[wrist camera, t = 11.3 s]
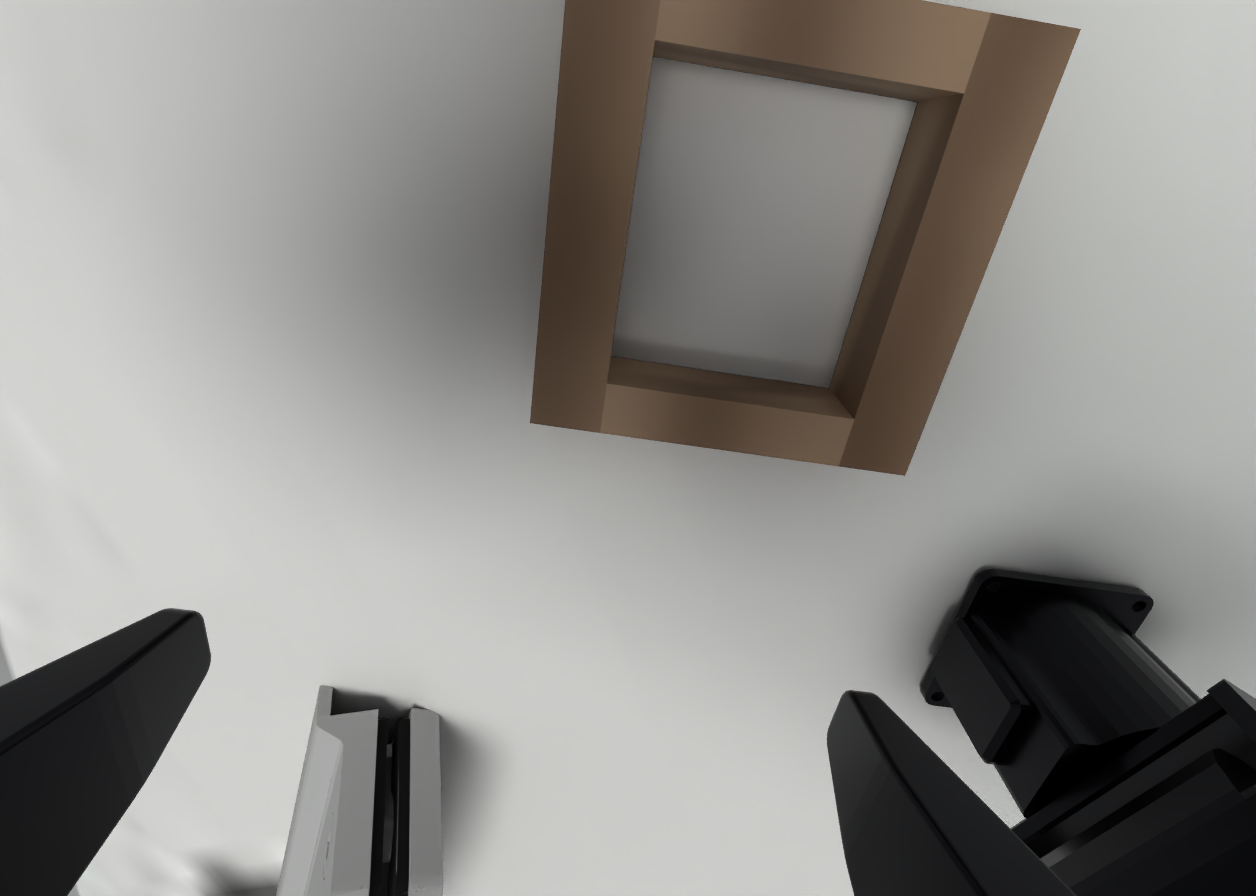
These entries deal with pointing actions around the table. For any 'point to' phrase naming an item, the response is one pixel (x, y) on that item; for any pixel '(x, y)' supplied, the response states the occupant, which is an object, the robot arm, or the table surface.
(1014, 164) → the socket bracket
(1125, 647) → the robot arm
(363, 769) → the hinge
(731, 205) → the table surface
